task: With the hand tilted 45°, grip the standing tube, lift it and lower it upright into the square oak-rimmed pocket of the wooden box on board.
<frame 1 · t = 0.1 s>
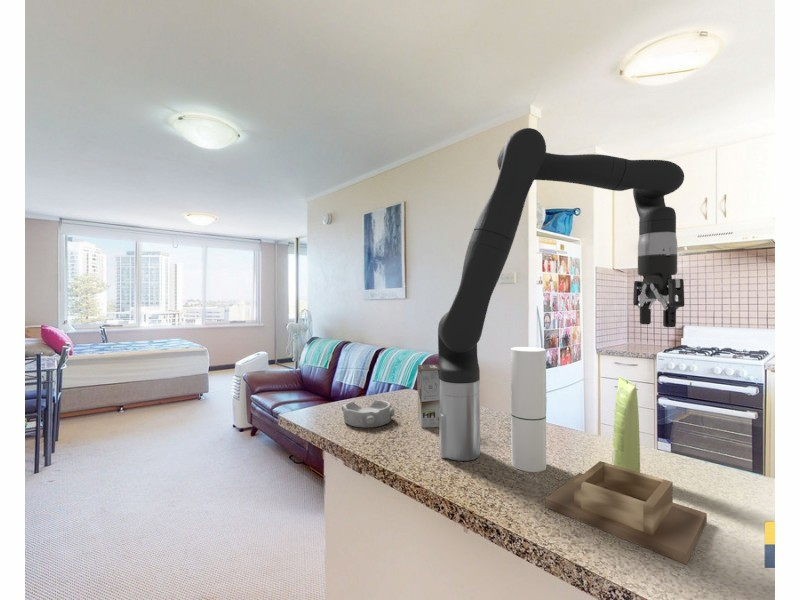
hand: (656, 325, 89), 29 cm above the countertop, tool pointing down, fingers open, 8 cm apart
coffee box: (430, 423, 113), on the countertop
dish: (368, 422, 115), on the countertop
tube: (626, 476, 79), on the countertop
wooden box on board: (623, 514, 65), on the countertop
cylindrical container: (528, 465, 85), on the countertop
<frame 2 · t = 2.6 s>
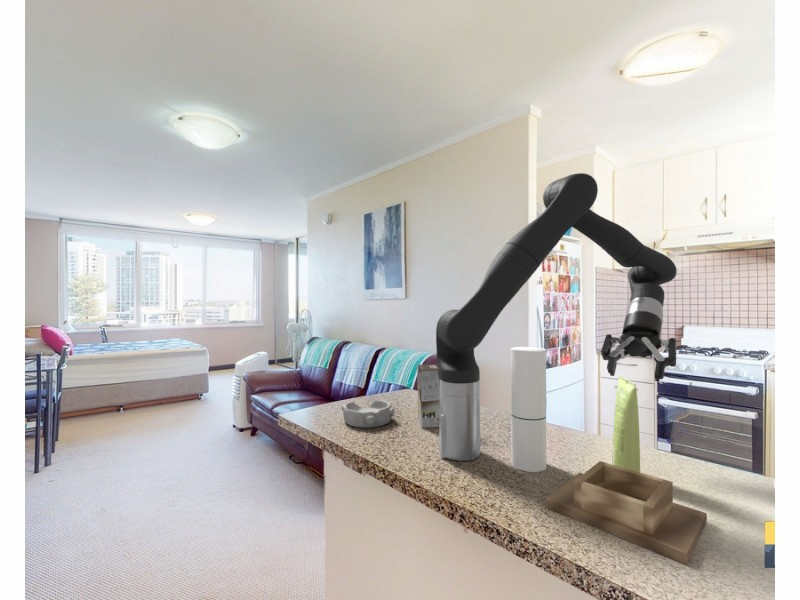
hand: (633, 376, 85), 19 cm above the countertop, tool tilted 45°, fingers open, 8 cm apart
nothing on the countertop moved.
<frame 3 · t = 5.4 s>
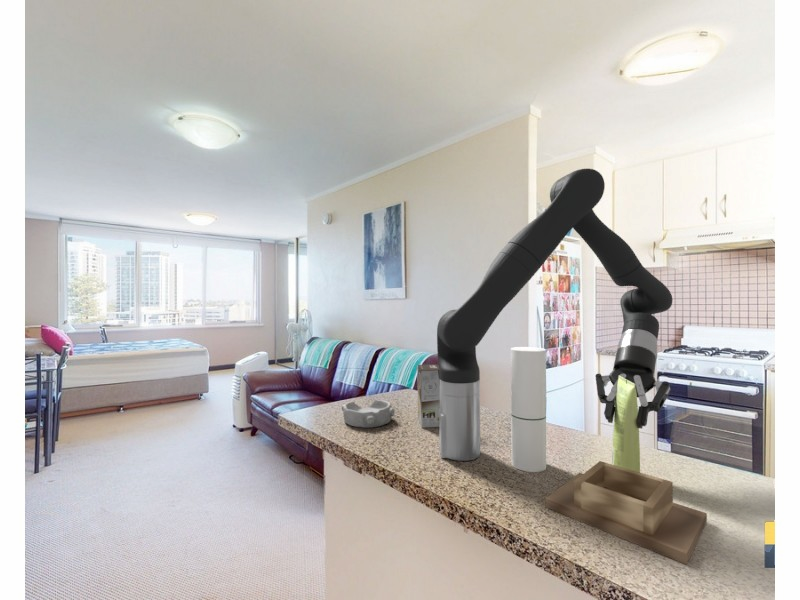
hand: (624, 423, 77), 11 cm above the countertop, tool tilted 45°, fingers closed on tube, 4 cm apart
tube: (626, 476, 79), on the countertop, touching gripper
everything else where it was.
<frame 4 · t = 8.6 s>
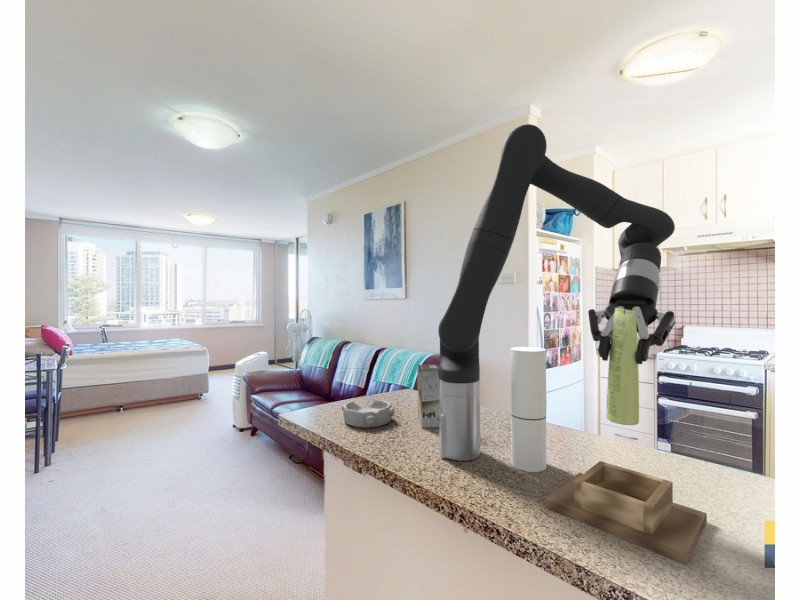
hand: (621, 359, 66), 26 cm above the countertop, tool tilted 45°, fingers closed on tube, 4 cm apart
tube: (622, 422, 68), point 14 cm above the countertop, touching gripper
everything else where it was.
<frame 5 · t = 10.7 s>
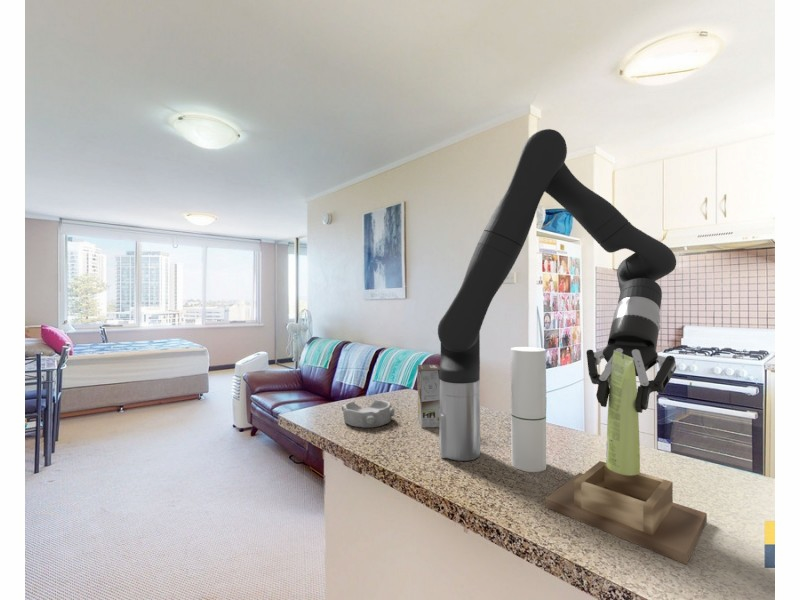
hand: (620, 406, 64), 18 cm above the countertop, tool tilted 45°, fingers closed on tube, 4 cm apart
tube: (623, 471, 65), point 7 cm above the countertop, touching gripper
everything else where it was.
when the fingers open (14 cm above the countertop, at t = 12.1 s): tube drops 2 cm, resting on wooden box on board.
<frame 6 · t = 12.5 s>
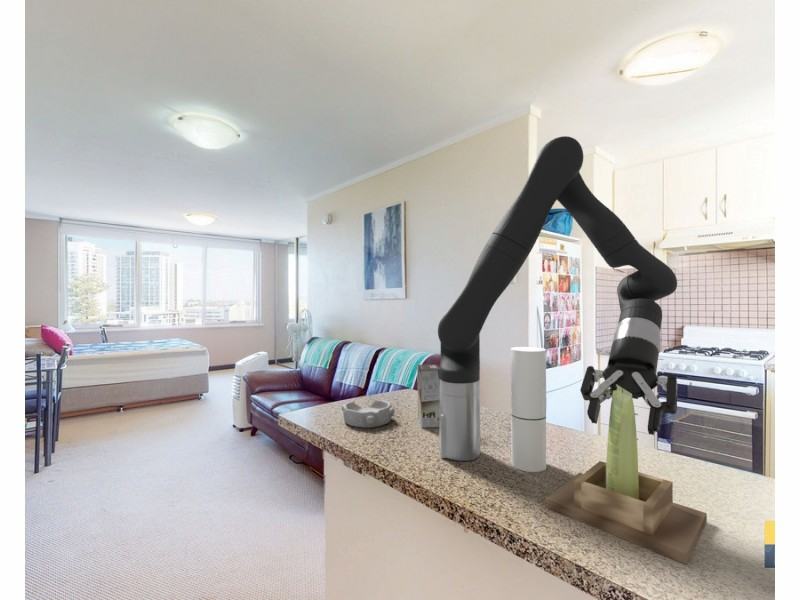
hand: (620, 426, 64), 15 cm above the countertop, tool tilted 45°, fingers open, 8 cm apart
tube: (622, 505, 66), point 1 cm above the countertop, touching wooden box on board
everything else where it was.
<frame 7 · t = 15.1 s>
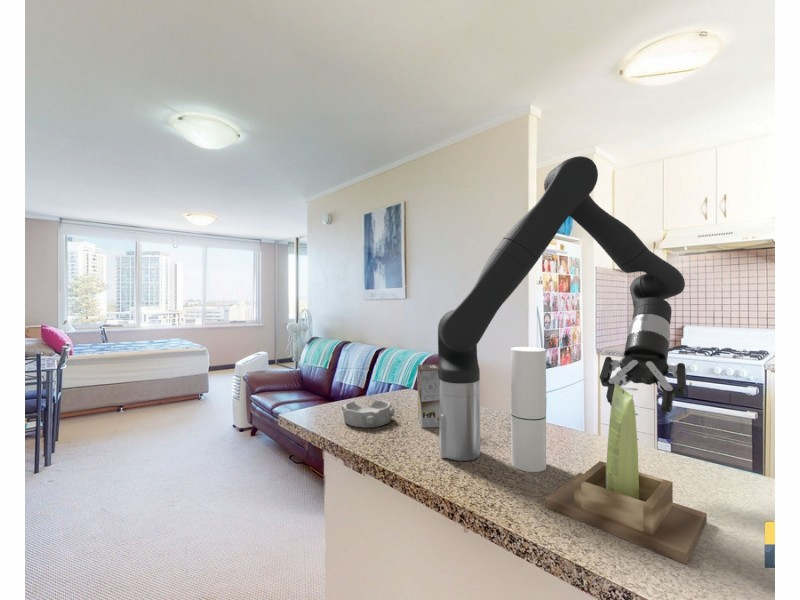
hand: (636, 407, 74), 15 cm above the countertop, tool tilted 45°, fingers open, 8 cm apart
nothing on the countertop moved.
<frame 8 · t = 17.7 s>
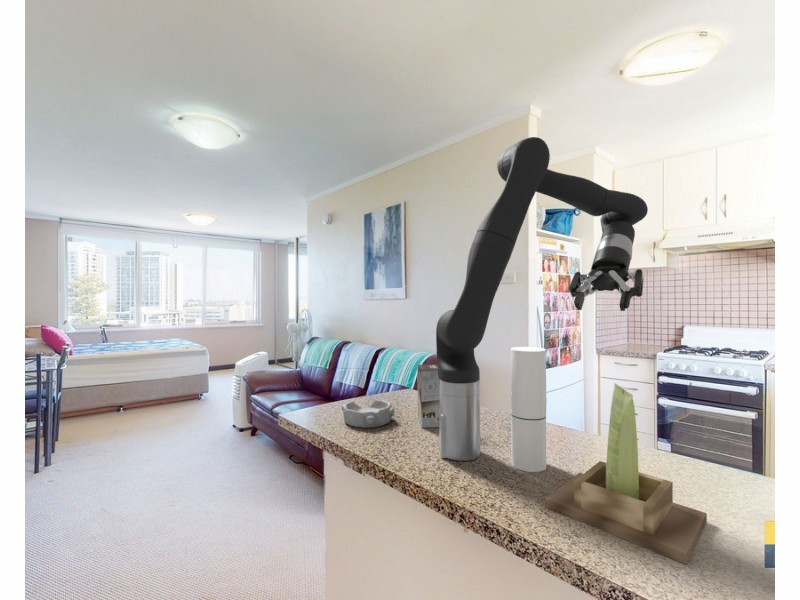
hand: (599, 307, 84), 34 cm above the countertop, tool tilted 45°, fingers open, 8 cm apart
nothing on the countertop moved.
at the end: tube 0.3 cm off-centre on the wooden box on board, point 1.3 cm above the wooden box on board's base; tube tilted 0°; the gripper is holding nothing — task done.
